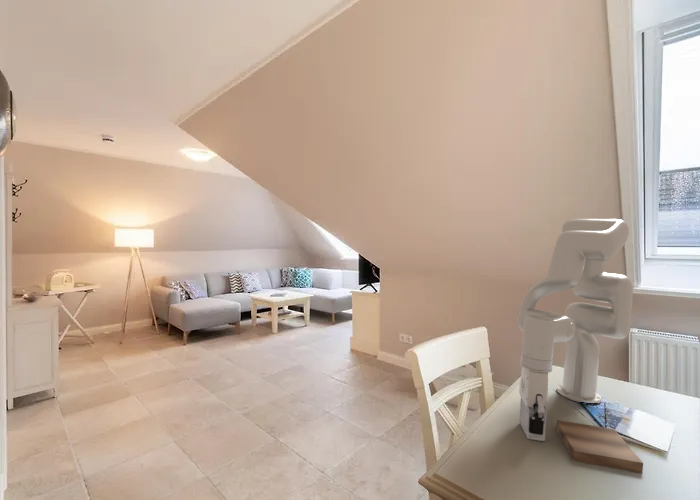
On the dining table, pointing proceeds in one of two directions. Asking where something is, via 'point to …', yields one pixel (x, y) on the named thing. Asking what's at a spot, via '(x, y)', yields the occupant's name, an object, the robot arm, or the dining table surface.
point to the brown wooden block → (598, 446)
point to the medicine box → (525, 419)
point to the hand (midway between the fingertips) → (531, 424)
